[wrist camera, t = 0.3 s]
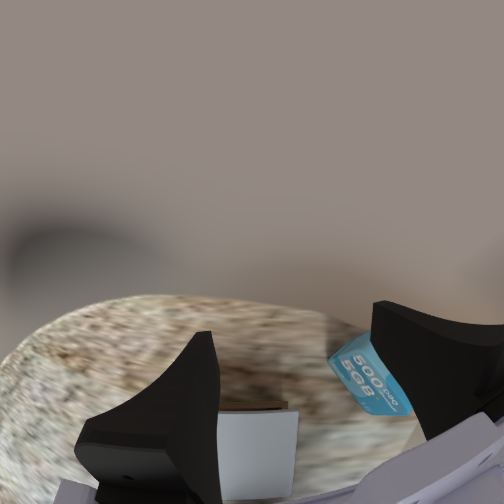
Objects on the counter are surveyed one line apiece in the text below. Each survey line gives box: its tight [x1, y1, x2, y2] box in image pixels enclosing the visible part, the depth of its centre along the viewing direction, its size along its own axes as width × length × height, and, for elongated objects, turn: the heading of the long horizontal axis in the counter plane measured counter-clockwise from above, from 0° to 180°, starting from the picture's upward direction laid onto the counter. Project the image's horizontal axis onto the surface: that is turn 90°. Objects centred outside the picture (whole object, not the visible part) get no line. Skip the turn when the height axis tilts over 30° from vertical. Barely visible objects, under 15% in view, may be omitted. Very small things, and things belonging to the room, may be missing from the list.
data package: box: [328, 330, 413, 416], centre depth 33 cm, size 12×4×12 cm, turn 36°
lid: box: [217, 409, 299, 500], centre depth 26 cm, size 14×12×1 cm
